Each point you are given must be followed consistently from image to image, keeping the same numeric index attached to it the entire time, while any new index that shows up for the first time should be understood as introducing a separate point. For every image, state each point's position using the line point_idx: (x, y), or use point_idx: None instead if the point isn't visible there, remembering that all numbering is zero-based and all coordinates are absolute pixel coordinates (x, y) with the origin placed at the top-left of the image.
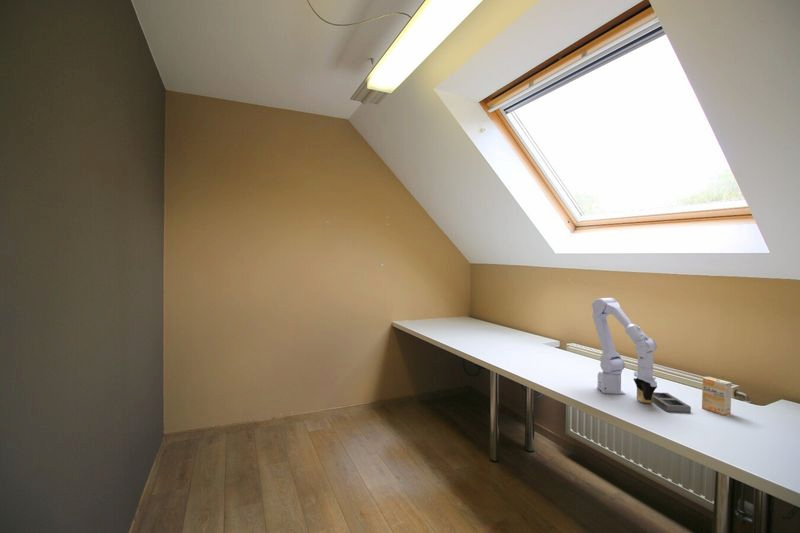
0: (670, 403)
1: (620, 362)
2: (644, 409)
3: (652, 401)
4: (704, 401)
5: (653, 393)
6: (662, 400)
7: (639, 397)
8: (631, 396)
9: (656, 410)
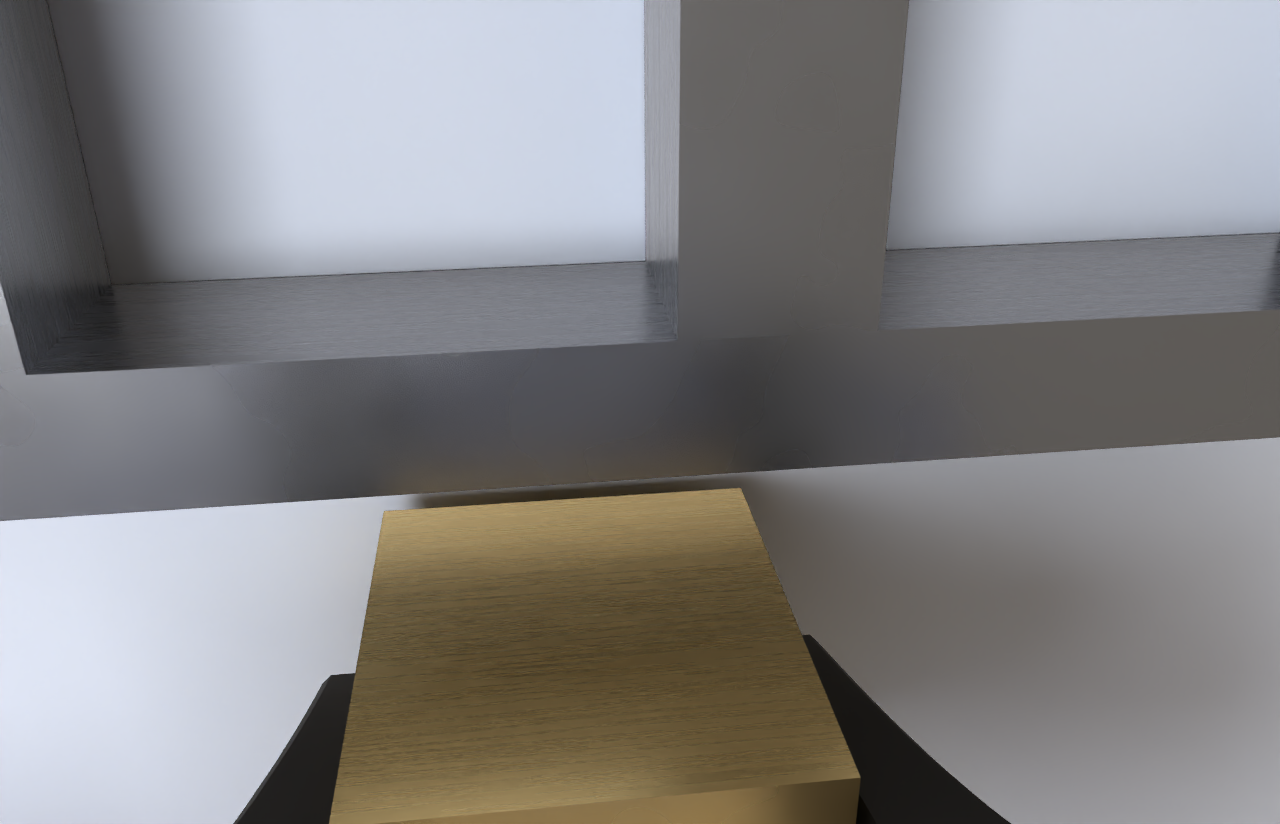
0: None
1: None
2: (1100, 794)
3: (754, 528)
4: None
5: (5, 252)
6: (975, 325)
7: None
8: (93, 789)
9: (1189, 564)
